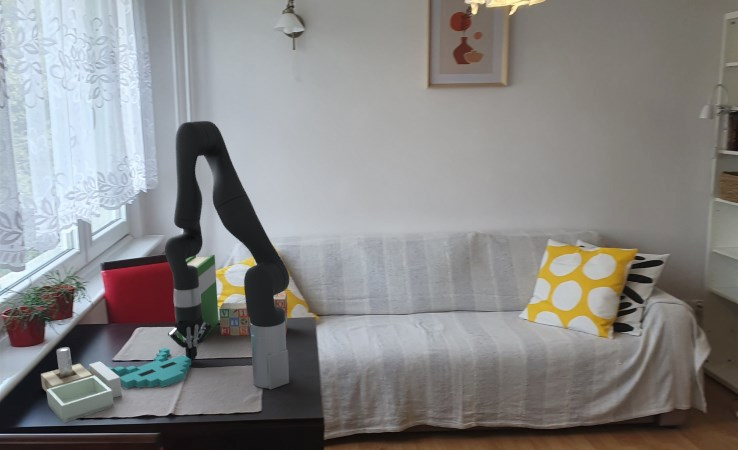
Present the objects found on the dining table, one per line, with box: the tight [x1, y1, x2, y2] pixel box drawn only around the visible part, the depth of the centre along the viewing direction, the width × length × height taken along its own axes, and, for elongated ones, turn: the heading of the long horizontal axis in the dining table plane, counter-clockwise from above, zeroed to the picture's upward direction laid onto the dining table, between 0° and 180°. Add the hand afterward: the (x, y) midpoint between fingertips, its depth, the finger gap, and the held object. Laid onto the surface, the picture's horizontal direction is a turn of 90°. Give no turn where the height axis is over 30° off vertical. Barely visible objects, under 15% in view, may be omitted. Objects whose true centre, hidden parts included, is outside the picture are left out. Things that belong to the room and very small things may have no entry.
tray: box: [46, 376, 114, 424], centre depth 164 cm, size 12×12×4 cm
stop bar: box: [88, 361, 123, 399], centre depth 174 cm, size 14×3×5 cm, turn 42°
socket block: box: [40, 363, 92, 393], centre depth 174 cm, size 10×10×4 cm
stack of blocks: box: [218, 293, 288, 336], centre depth 213 cm, size 21×6×12 cm, turn 91°
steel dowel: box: [56, 346, 73, 379], centre depth 173 cm, size 3×3×11 cm
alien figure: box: [107, 347, 192, 389], centre depth 183 cm, size 20×2×20 cm
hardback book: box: [178, 254, 220, 342], centre depth 212 cm, size 18×7×24 cm, turn 175°
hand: (191, 358), depth 191 cm, fingers closed
